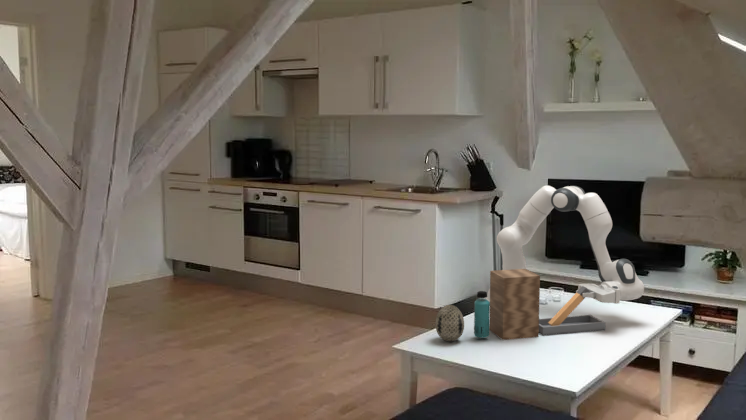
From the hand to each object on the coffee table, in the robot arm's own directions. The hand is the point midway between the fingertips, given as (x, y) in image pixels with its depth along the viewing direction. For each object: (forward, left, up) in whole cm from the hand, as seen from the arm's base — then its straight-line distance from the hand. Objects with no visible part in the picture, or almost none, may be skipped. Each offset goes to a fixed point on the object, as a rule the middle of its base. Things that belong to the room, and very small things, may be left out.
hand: (579, 293), depth 303 cm
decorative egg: (-30, -52, -15) cm, 62 cm away
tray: (-3, -4, -15) cm, 16 cm away
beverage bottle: (-22, -41, -15) cm, 49 cm away
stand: (-16, -26, -15) cm, 34 cm away
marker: (-2, -3, -7) cm, 8 cm away
